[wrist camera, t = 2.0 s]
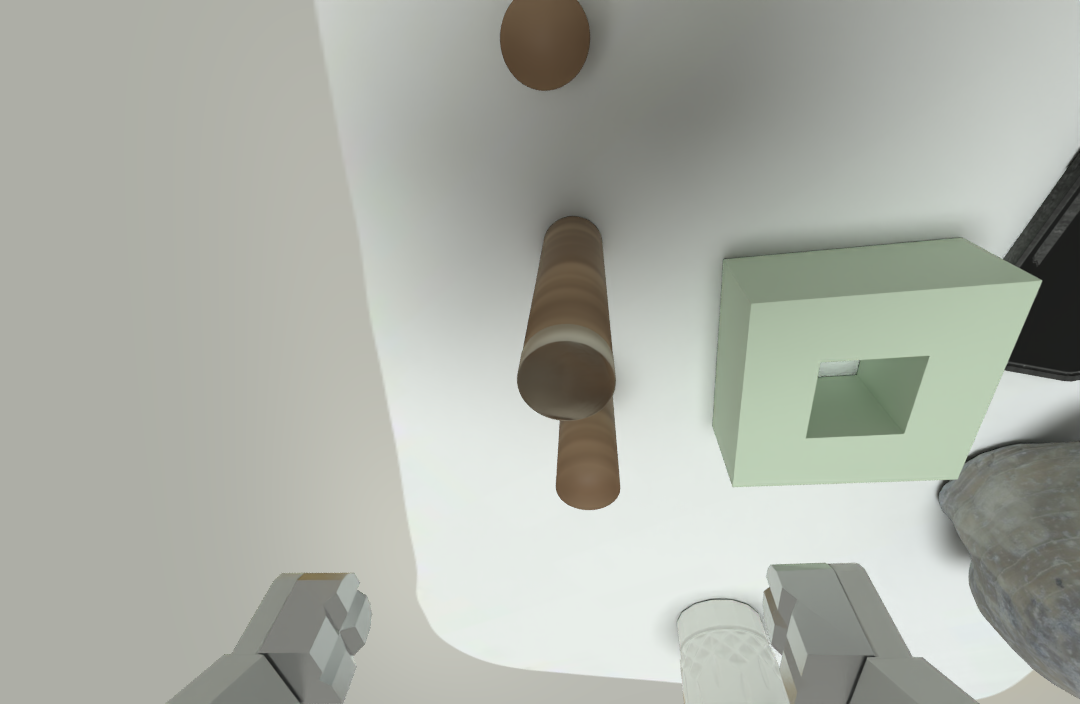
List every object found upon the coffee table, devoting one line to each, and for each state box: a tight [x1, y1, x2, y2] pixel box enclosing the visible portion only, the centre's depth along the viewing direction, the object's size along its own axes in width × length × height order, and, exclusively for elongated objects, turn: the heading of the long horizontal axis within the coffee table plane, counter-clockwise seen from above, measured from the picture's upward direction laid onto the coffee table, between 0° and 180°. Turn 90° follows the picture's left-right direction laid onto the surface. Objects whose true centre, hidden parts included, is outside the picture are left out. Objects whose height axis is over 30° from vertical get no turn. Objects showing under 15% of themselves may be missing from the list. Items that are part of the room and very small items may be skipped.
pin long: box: [517, 216, 616, 421], centre depth 21 cm, size 3×3×12 cm
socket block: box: [712, 238, 1042, 487], centre depth 26 cm, size 11×11×5 cm
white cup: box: [677, 600, 790, 704], centre depth 38 cm, size 8×8×10 cm
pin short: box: [500, 0, 590, 91], centre depth 19 cm, size 3×3×5 cm
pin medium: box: [556, 396, 620, 510], centre depth 27 cm, size 3×3×8 cm
